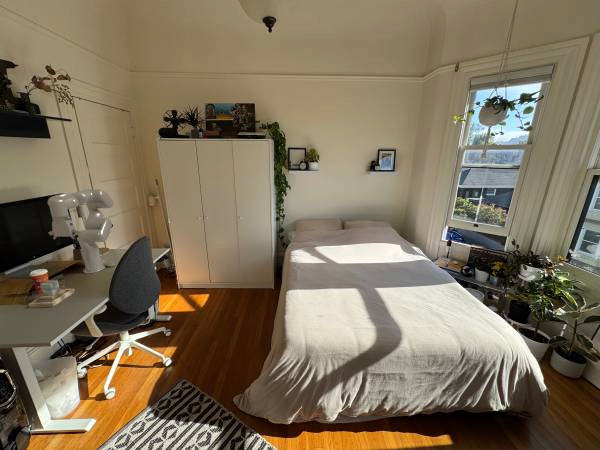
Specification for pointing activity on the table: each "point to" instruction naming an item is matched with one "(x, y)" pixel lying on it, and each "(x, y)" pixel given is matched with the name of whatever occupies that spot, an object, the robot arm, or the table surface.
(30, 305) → the wooden picture frame
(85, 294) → the table surface
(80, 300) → the table surface
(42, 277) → the paper cup
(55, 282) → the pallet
